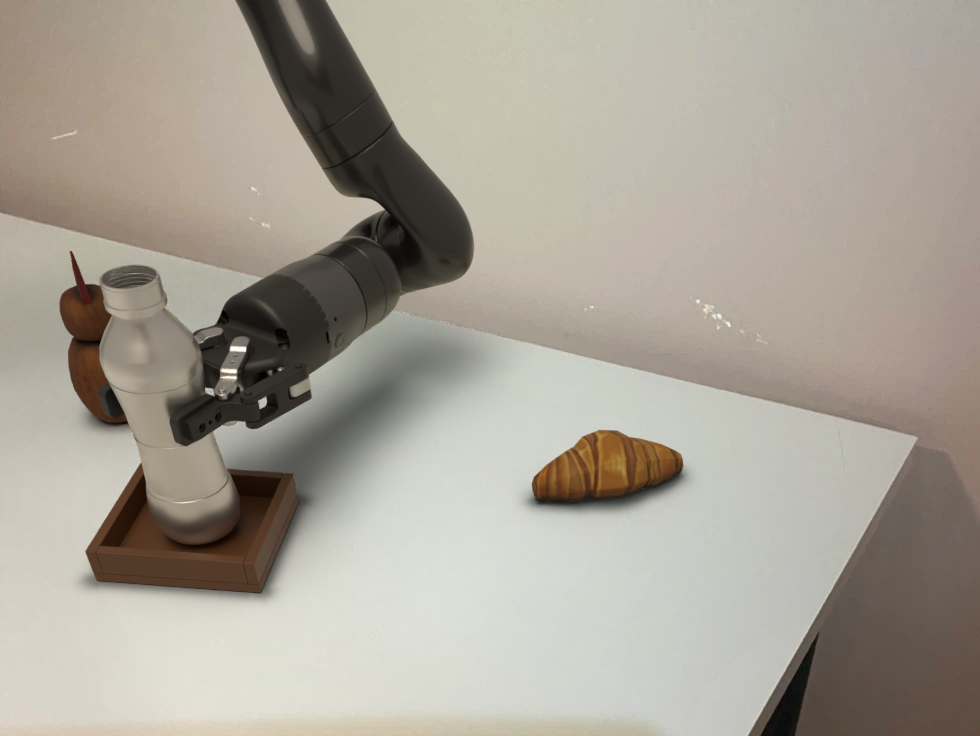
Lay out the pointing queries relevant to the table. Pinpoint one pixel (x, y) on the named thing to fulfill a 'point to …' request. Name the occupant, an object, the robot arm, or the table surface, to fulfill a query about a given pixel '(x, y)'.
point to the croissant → (606, 468)
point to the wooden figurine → (86, 340)
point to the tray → (217, 565)
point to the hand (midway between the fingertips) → (140, 419)
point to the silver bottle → (164, 407)
